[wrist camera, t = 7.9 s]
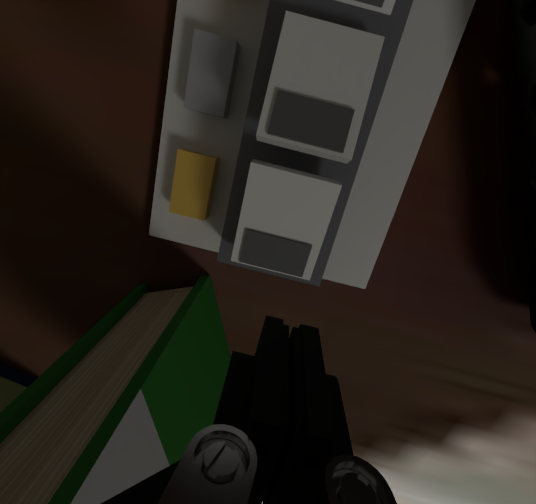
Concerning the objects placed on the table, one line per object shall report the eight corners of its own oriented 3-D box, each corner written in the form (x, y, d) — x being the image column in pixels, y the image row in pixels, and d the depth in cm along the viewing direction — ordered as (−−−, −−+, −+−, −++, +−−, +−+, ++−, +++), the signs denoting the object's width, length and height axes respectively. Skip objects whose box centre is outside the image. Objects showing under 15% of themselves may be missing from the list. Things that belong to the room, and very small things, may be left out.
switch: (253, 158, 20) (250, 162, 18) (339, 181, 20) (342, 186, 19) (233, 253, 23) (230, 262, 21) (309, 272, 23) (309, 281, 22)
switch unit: (203, -159, 20) (169, -281, 15) (498, -77, 21) (580, -165, 15) (154, 231, 29) (120, 253, 23) (362, 283, 30) (380, 317, 24)
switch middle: (284, 24, 18) (286, 8, 17) (377, 48, 18) (386, 34, 17) (256, 140, 19) (255, 133, 18) (346, 163, 19) (352, 158, 18)
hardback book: (137, 285, 31) (-268, 660, 8) (209, 274, 30) (-25, 660, 8) (183, 422, 36) (12, 878, 14) (246, 417, 36) (172, 892, 13)
